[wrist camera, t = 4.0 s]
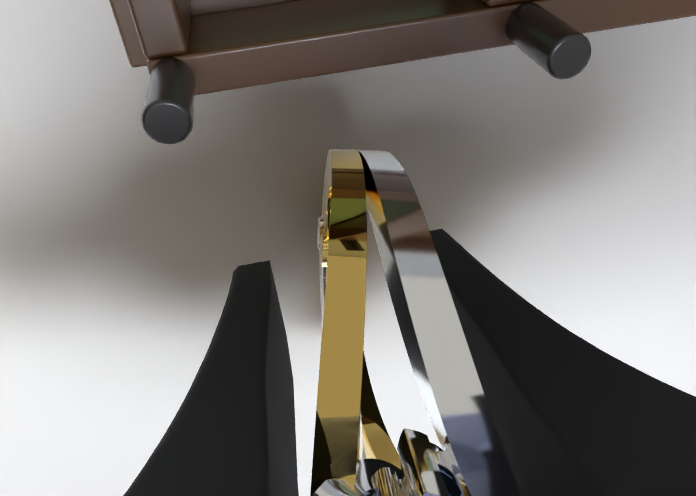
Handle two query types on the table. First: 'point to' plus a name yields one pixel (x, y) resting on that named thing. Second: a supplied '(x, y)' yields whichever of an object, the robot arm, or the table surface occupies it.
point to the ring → (420, 341)
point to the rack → (345, 40)
